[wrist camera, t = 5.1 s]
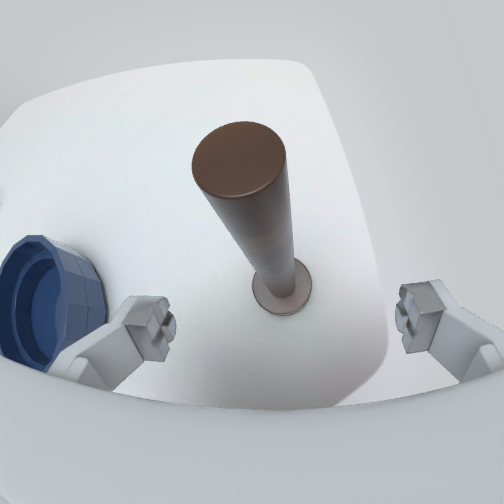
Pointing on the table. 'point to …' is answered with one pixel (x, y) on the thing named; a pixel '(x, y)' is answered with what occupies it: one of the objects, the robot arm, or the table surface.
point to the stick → (255, 208)
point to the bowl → (46, 301)
